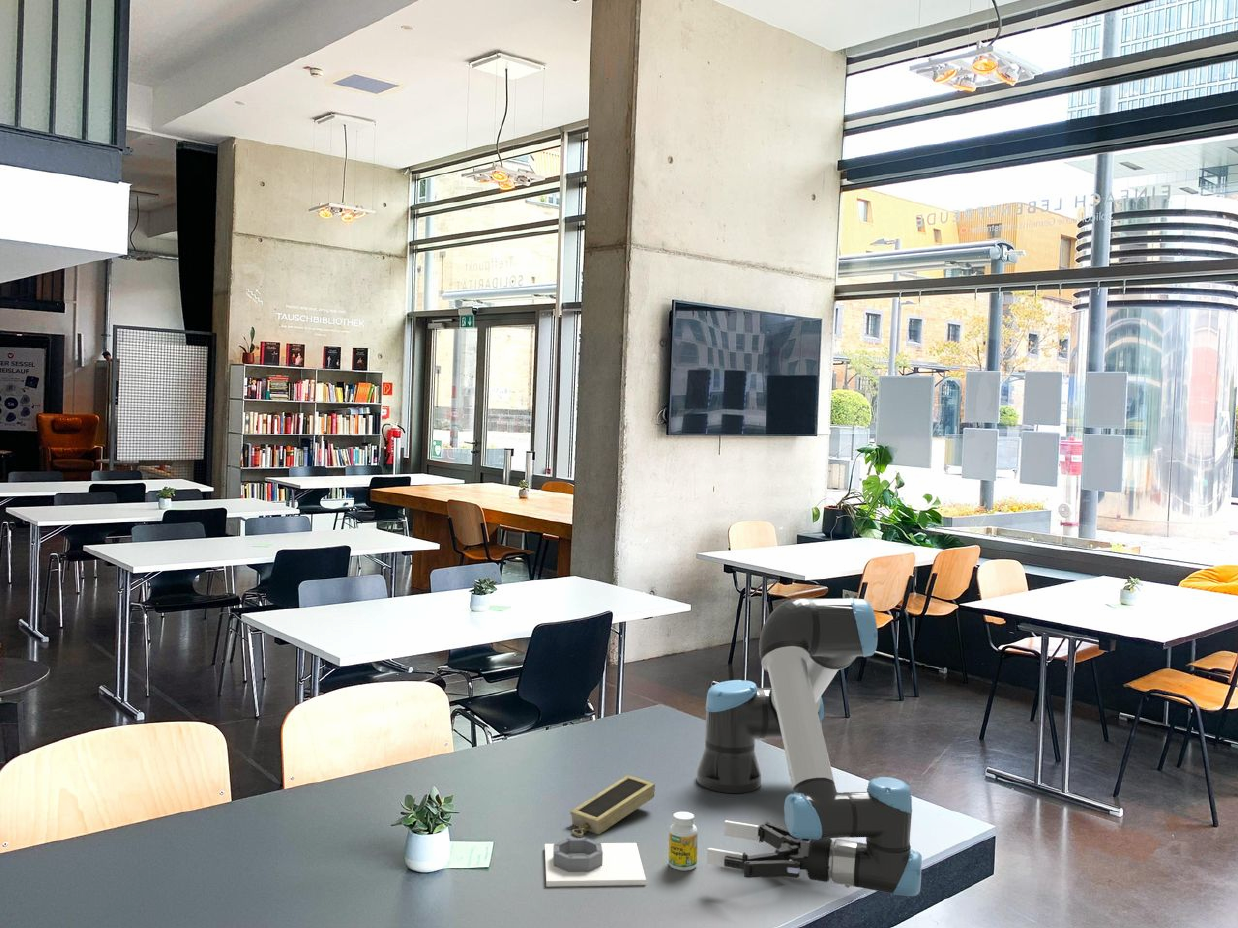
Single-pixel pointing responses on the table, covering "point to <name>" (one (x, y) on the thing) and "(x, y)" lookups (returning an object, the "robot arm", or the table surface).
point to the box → (611, 805)
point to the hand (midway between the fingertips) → (716, 841)
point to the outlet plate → (604, 875)
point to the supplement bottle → (683, 842)
